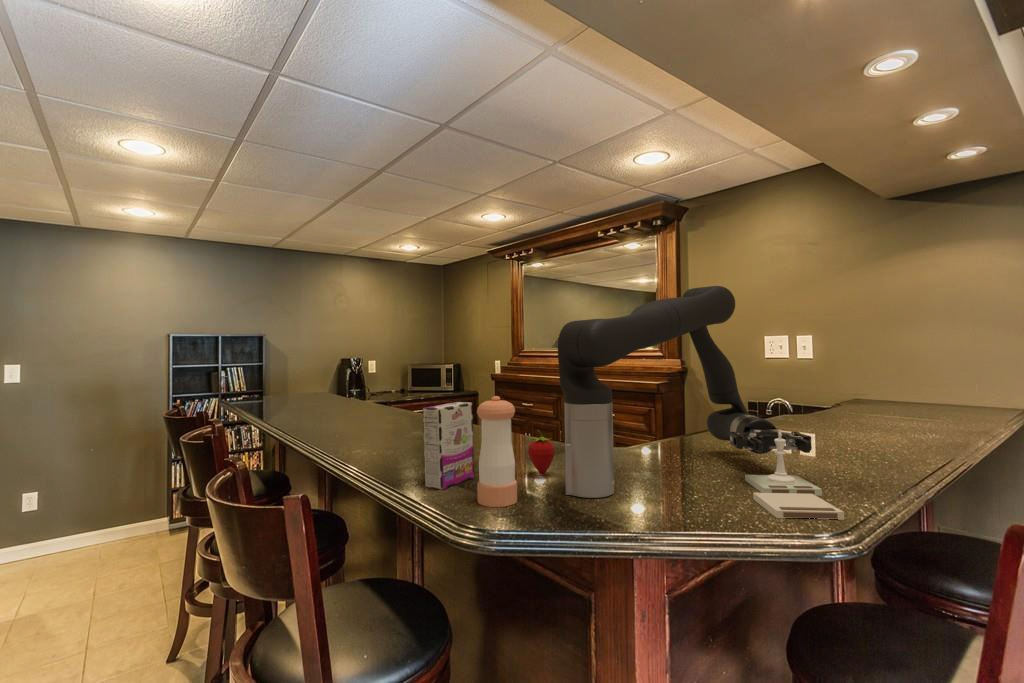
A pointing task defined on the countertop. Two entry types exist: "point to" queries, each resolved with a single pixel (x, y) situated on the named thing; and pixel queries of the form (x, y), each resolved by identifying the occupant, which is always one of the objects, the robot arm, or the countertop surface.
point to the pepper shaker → (496, 455)
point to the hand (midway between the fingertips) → (784, 447)
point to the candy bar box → (448, 444)
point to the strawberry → (541, 453)
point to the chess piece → (780, 465)
